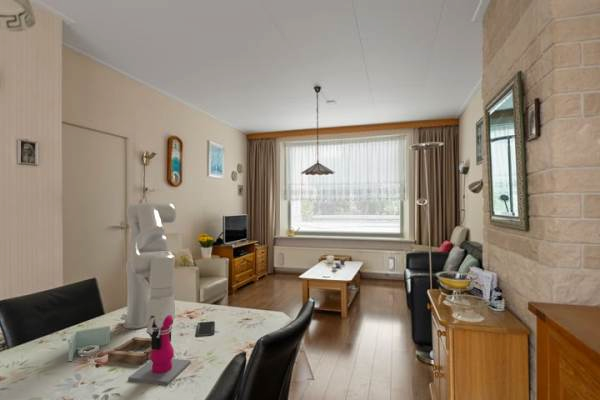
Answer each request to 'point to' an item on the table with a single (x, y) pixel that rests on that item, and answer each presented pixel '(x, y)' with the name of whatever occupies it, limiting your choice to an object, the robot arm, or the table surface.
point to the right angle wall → (88, 341)
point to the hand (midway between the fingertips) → (161, 344)
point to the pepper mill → (163, 349)
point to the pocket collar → (125, 356)
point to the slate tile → (159, 378)
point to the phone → (205, 329)
